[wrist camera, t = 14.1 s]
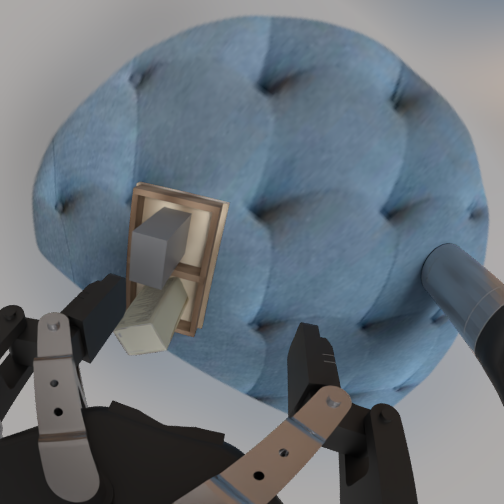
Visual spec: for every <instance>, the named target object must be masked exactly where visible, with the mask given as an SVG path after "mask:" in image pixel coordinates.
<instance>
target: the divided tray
mask: <svg viewBox="0 0 504 504" xmlns="http://www.w3.org/2000/svg"><path fill="white" fill-rule="evenodd" d="M229 204H230V203H229V202H225V201H221V200H217V199H213V198H209V197H205V196H200V195H196V194H192V193H188V192H184V191H179V190H175V189H170V188H166V187H162V186H157V185H153V184H148V183H143V182H138V183H137V186H136V187H134V189H133V197H132V205H131V215H130V225H129V236H128V250H127V268H126V310H127V309H128V308H129V306H130V305H131V303H132V302H133V301H134V299H135V298H136V297H137V295H138V294H139V293H140V291H141V290H142V289H143V287H144V286H145V285H143V284H140V283H137V282H133V281H130V280H129V272H130V255H131V241H132V231H134V230H135V229H136V228H137V227H139V226H140V225H141V224H142V223H144V222H145V221H146V220H147V219H149V218H150V217H151V216H153V215H154V214H155V213H157V212H158V211H159V210H160V209H162V208H163V207H167V208H171V209H175V210H180V211H184V212H188V213H192V216H191V221H190V227H189V232H188V238H187V244H186V249H185V254H184V256H183V257H182V259H181V260H180V262H179V263H178V265H177V266H176V268H175V269H174V271H173V272H172V274H171V276H170V277H169V278H171V277H178V278H180V280H181V282H182V284H183V286H184V289H185V291H186V293H187V295H188V298H189V301H188V303H187V305H186V307H185V310H184V312H183V314H182V316H181V318H180V321H179V323H178V325H177V327H176V330H175V332H177V333H180V334H184V335H187V336H191V337H194V336H195V333H196V330H197V328H201V329H202V326H203V321H204V316H205V312H206V307H207V302H208V297H209V292H210V288H211V283H212V278H213V274H214V269H215V265H216V260H217V256H218V251H219V247H220V243H221V238H222V234H223V230H224V225H225V221H226V217H227V213H228V208H229Z"/></svg>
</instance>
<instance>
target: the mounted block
mask: <svg viewBox="0 0 504 504" xmlns="http://www.w3.org/2000/svg"><path fill="white" fill-rule="evenodd" d="M191 216H192V213H188V212H184V211H180V210H175V209H171V208H167V207H163V208H162V209H160V210H159V211H158V212H157V213H155V214H154V215H153V216H151V217H150V218H149V219H147V220H146V221H145V222H144V223H142V224H141V225H140V226H139V227H137V228H136V229H135V230H134V231H132V241H131V255H130V272H129V280H130V281H133V282H137V283H140V284H143V285H146V286H150V287H153V288H156V289H160V290H162V288H163V286H164V285H165V283H166V282H167V280H168V279H169V277H170V276H171V274H172V272H173V271H174V269H175V268H176V266H177V265H178V263H179V262H180V260H181V259H182V257H183V256H184V254H185V249H186V244H187V238H188V232H189V227H190V221H191Z"/></svg>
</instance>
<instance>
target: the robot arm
mask: <svg viewBox="0 0 504 504" xmlns="http://www.w3.org/2000/svg"><path fill="white" fill-rule="evenodd" d="M421 280H422V284H423V286H424V288H425V289H426V291H427V292H428V293H429V294H430V296H431V297H432V298H433V299H434V301H435V302H436V303H437V305H438V306H439V307H440V308H441V310H442V311H443V312H444V313H445V315H446V316H447V317H448V319H449V320H450V321H451V323H452V324H453V325H454V327H455V328H456V329H457V331H458V332H459V334H460V335H461V336H462V337H463V339H464V340H465V342H466V343H467V344H468V346H469V347H470V349H471V350H472V352H473V353H474V355H475V356H476V358H477V359H478V361H479V362H480V363H481V365H482V367H483V369H484V370H485V372H486V374H487V376H488V377H489V379H490V381H491V382H492V384H493V386H494V387H495V389H496V391H497V393H498V395H499V397H500V399H501V402H502V404H503V406H504V284H503V283H502V282H501V281H500V280H499V279H498V278H496V277H495V276H494V275H493V274H492V273H491V272H489V271H488V270H487V269H486V268H485V267H484V266H482V265H481V264H480V263H479V262H477V261H476V260H475V259H474V258H472V257H471V256H470V255H469V254H468V253H466V252H465V251H464V250H462V249H461V248H460V247H459V246H457V245H455V244H450V243H449V244H444V245H441V246H439V247H438V248H436V249H435V250H434V251H433V252H432V253H431V254H430V255H429V257H428V258H427V260H426V262H425V264H424V266H423V269H422V276H421ZM125 311H126V279H125V278H124V277H121V276H117V275H114V274H111V273H110V274H108V275H107V276H106V277H105V278H104V279H103V280H102V281H96V282H94V283H91V284H89V285H88V286H87V287H86V288H85V289H84V290H83V291H82V292H81V293H80V294H79V295H78V296H77V297H76V298H75V299H73V301H71V302H70V303H69V305H67V307H66V308H64V309H63V311H61V313H57V312H53V313H48V314H45V315H44V316H42V317H41V318H40V320H37V319H31V318H26V317H25V314H24V311H23V309H22V308H21V307H19V306H17V305H9V306H6V307H4V308H2V309H1V310H0V359H1V357H2V356H3V355H4V353H5V352H6V351H7V350H8V349H9V352H10V353H9V355H8V356H7V357H6V359H5V360H4V361H3V363H2V364H1V365H0V504H283V503H282V502H281V500H280V499H279V498H278V496H277V494H278V493H279V492H280V491H281V490H282V489H283V488H284V487H285V486H286V485H287V483H289V482H290V480H291V479H292V478H293V477H294V476H295V475H296V474H297V473H298V472H299V471H300V470H301V469H302V468H303V467H304V466H305V465H306V463H307V462H308V461H309V460H310V459H311V458H312V457H313V456H314V454H315V453H316V452H317V451H318V450H319V448H320V447H321V446H322V447H324V448H327V449H330V450H333V451H336V452H339V473H340V504H418V501H417V494H416V488H415V482H414V477H413V471H412V466H411V461H410V456H409V452H408V447H407V443H406V438H405V434H404V430H403V425H402V422H401V418H400V415H399V413H398V412H397V410H396V409H394V408H393V407H392V406H390V405H388V404H383V403H380V404H376V405H374V406H373V407H372V409H371V410H370V409H367V408H364V407H361V406H358V405H356V404H353V403H352V401H351V398H350V396H349V395H348V393H347V392H346V391H344V390H343V389H341V387H340V381H339V376H338V372H337V367H336V364H335V357H334V352H333V348H332V346H331V344H330V343H329V341H328V340H327V339H326V338H322V337H320V334H319V329H318V326H317V325H313V324H308V323H302V322H301V323H300V325H299V327H298V329H297V332H296V334H295V337H294V339H293V341H292V344H291V346H290V349H289V353H288V358H287V366H288V418H287V419H286V420H285V421H283V422H282V423H281V424H280V425H279V426H278V427H277V428H276V429H275V430H273V431H272V432H271V433H270V434H269V435H268V436H267V437H265V438H264V439H263V440H262V441H261V442H260V443H258V444H257V445H256V446H255V447H254V448H252V449H251V450H250V451H249V452H247V453H246V454H244V453H242V452H241V451H240V450H239V449H237V448H236V447H234V446H232V445H231V444H229V443H226V442H224V436H225V434H223V433H219V432H214V431H209V430H205V429H201V428H197V427H180V426H167V425H163V424H161V423H159V422H158V421H156V420H154V419H153V418H151V417H149V416H147V415H146V414H144V413H142V412H141V411H139V410H137V409H134V408H131V407H129V406H126V405H123V404H121V403H118V402H115V401H112V403H111V405H110V406H109V407H103V406H95V407H88V405H87V402H86V398H85V393H84V389H83V384H82V379H81V373H80V368H79V363H80V362H81V361H82V360H84V361H86V362H88V363H91V362H92V361H93V359H94V358H95V356H96V355H97V353H98V352H99V350H100V349H101V348H102V346H103V345H104V343H105V342H106V340H107V339H108V337H109V336H110V335H111V333H112V332H113V331H114V329H115V328H116V327H117V325H118V324H119V322H120V321H121V320H122V318H123V317H124V314H125ZM33 372H34V387H35V388H34V389H35V402H36V411H37V420H38V426H36V427H33V428H30V429H28V430H25V431H22V432H19V433H16V434H13V435H10V436H7V437H2V429H3V427H2V423H1V422H2V420H3V419H4V417H5V415H6V414H7V412H8V410H9V409H10V407H11V405H12V404H13V402H14V401H15V399H16V397H17V396H18V394H19V393H20V391H21V390H22V388H23V387H24V385H25V384H26V382H27V381H28V379H29V377H30V376H31V375H32V373H33Z"/></svg>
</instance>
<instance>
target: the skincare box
mask: <svg viewBox="0 0 504 504" xmlns="http://www.w3.org/2000/svg"><path fill="white" fill-rule="evenodd" d="M188 301H189V298H188V295H187V293H186V291H185V289H184V286H183V284H182V282H181V280H180V278H178V277H171V278H169V279H168V280H167V282H166V283H165V285H164V286H163V288H162V290H160V289H156V288H153V287H150V286H146V285H145V286H144V287H143V289H142V290H141V291H140V293H139V294H138V295H137V297H136V298H135V299H134V301H133V302H132V303H131V305H130V306H129V308H128V309H127V310H126V312H125V314H124V317H123V318H122V320H121V321H120V322H119V324H118V325H117V327H116V328H115V329H114V331H113V332H114V334H115V336H116V337H117V339H118V340H119V342H120V344H121V345H122V347H123V348H124V350H125V351H126V353H127V354H128V355H141V354H148V353H156V352H162V351H166V350H167V348H168V346H169V343H170V341H171V339H172V337H173V334H174V332H175V330H176V327H177V325H178V323H179V321H180V318H181V316H182V314H183V312H184V310H185V307H186V305H187V303H188Z"/></svg>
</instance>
